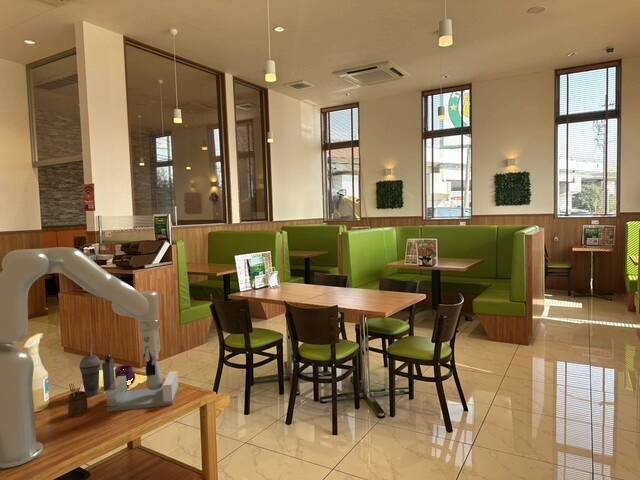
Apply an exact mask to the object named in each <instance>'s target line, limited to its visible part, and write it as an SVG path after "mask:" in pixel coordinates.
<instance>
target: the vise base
mask: <svg viewBox="0 0 640 480" xmlns="http://www.w3.org/2000/svg"><path fill="white" fill-rule="evenodd" d="M178 391H179V376H178V370H175V371H174V370H173V371H169V372H168V374H167V376H166V378H165V380H164V381H163V383H162V386H161V387H160V389H157V390H150V389H149V388H143V389H133V390H127V391H126V392H125V394H124V395H123V397H122V398H121V400H120V401H119V402H118V404H117V405H116V406H108V407H107V412H116V411H126V410H135V409H145V408H147V409H148V408H154V407H155V408H156V407H165V406H173V404H174V402H175V400H176V397H177V395H178Z"/></svg>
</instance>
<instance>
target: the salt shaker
mask: <svg viewBox="0 0 640 480" xmlns="http://www.w3.org/2000/svg"><path fill="white" fill-rule="evenodd" d="M150 356H152V355H150ZM150 359H151V360H152V358H150ZM158 360H159V354H158V355H157V356H156V357H154V364H155V375H153V374H152V375H151V376H146V384H145V385H146V386H147V387H148V389H150V390H157V389H160V388H162V387H163V384H164V381H163V380H164V378H163V375H162V371H161V369H160V366H159V361H158Z"/></svg>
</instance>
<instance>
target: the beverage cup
mask: <svg viewBox="0 0 640 480" xmlns="http://www.w3.org/2000/svg"><path fill="white" fill-rule="evenodd" d="M100 368H101V361H100V358H99V357H98V356H97V355H96V354H93V343H90V353H89V354H87V355H85V356H83V357H82V358H81V360H80V362H79V369H80V373H81V378H82V380H81V381H82V382H83V383H82V387H83V391H84V392H85V394H86V395H85V397H86V398H87V397H94V396H97V395H98V394H99V389H100Z"/></svg>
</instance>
